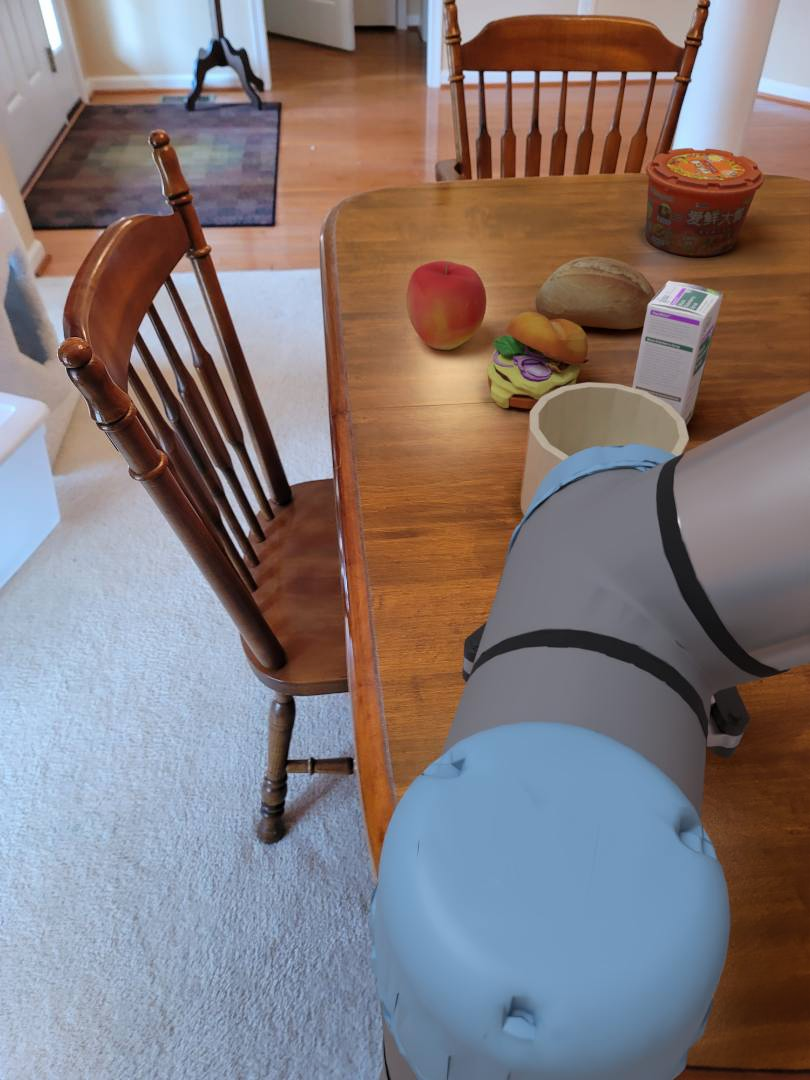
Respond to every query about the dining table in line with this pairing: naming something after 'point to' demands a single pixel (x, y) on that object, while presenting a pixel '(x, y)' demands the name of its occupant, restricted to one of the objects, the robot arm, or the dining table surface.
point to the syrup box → (677, 344)
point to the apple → (445, 303)
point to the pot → (595, 427)
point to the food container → (698, 200)
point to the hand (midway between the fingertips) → (648, 486)
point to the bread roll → (596, 294)
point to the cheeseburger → (535, 359)
